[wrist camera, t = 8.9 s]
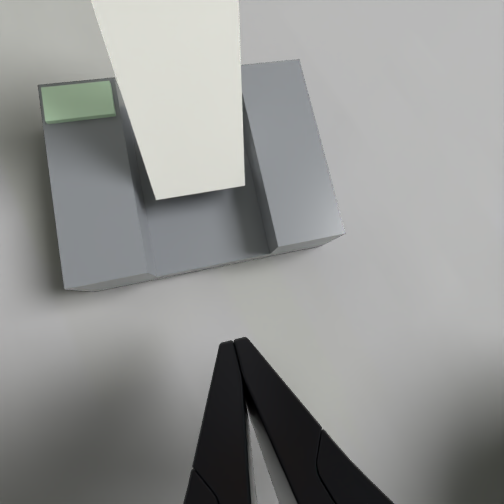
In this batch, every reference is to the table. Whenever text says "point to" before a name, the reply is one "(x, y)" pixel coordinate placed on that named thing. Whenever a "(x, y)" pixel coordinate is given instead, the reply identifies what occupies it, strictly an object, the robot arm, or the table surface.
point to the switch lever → (180, 88)
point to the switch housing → (188, 206)
